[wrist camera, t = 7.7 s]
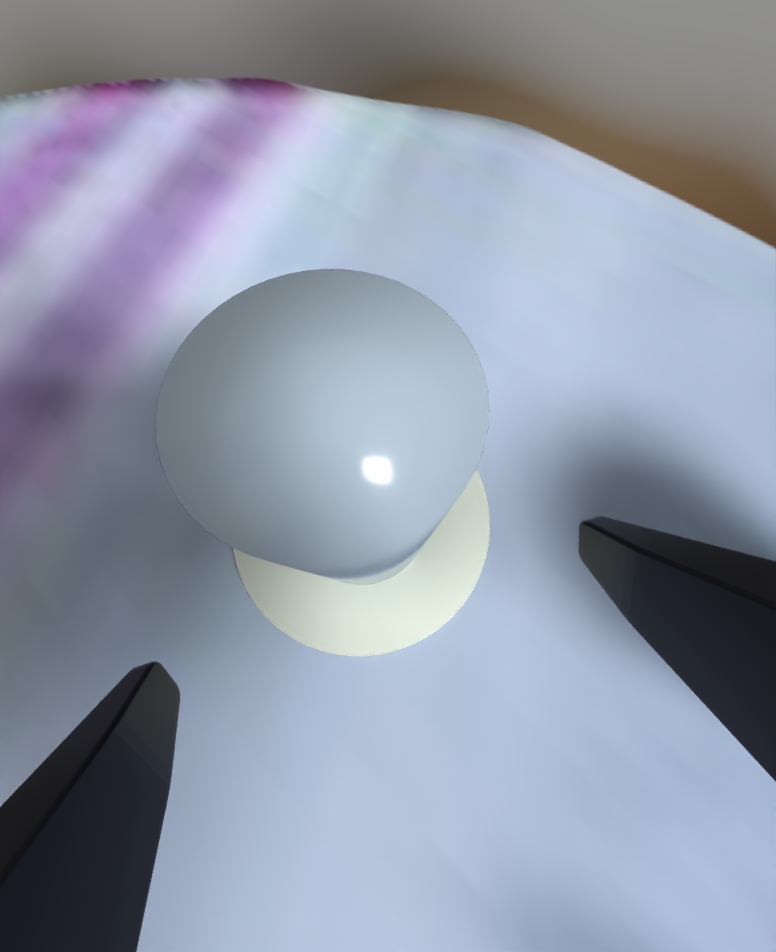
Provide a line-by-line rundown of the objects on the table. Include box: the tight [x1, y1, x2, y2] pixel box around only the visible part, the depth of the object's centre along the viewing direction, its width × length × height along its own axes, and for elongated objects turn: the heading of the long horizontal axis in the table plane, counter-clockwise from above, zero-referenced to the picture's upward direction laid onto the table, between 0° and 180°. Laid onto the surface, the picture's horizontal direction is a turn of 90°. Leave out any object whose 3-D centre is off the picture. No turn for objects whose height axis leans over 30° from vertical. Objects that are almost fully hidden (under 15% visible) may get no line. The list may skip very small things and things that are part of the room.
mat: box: [233, 469, 490, 656], centre depth 16 cm, size 11×11×1 cm
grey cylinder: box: [155, 269, 490, 585], centre depth 11 cm, size 6×6×10 cm
